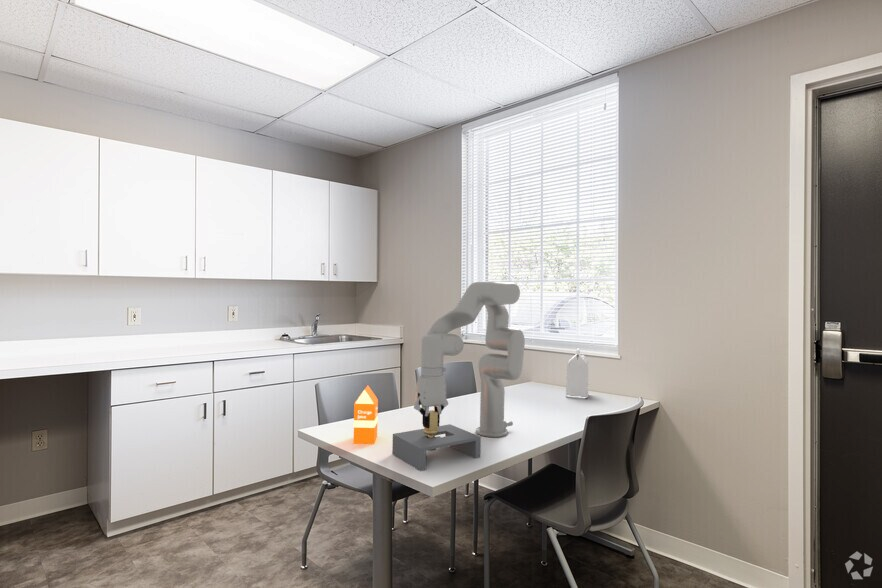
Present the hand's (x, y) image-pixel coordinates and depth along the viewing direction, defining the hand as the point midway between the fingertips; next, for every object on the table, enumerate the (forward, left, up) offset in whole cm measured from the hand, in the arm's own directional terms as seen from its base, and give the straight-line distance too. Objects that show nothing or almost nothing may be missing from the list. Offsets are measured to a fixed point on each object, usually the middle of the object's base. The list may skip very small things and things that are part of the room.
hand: (430, 425), depth 162 cm
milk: (-123, -41, -11) cm, 130 cm away
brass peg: (0, 0, -8) cm, 8 cm away
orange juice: (+11, -28, -11) cm, 32 cm away
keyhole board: (-2, 0, -11) cm, 11 cm away
